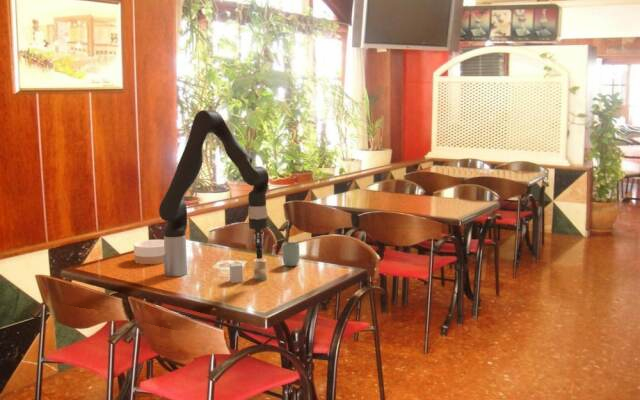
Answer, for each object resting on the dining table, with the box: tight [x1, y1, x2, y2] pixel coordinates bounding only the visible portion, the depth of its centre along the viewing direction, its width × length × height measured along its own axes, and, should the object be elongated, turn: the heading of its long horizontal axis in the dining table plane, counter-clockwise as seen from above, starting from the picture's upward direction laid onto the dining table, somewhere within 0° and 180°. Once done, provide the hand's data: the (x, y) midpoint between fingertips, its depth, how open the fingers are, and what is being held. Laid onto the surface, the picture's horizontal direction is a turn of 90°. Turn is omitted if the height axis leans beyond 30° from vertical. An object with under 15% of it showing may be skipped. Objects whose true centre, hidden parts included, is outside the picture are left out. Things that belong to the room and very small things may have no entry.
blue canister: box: [253, 258, 268, 281], centre depth 295 cm, size 5×5×8 cm
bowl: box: [133, 239, 165, 265], centre depth 331 cm, size 17×17×8 cm
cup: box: [281, 241, 300, 267], centre depth 316 cm, size 8×8×10 cm
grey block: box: [229, 262, 244, 284], centre depth 292 cm, size 4×4×7 cm
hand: (259, 258), depth 285 cm, fingers closed
